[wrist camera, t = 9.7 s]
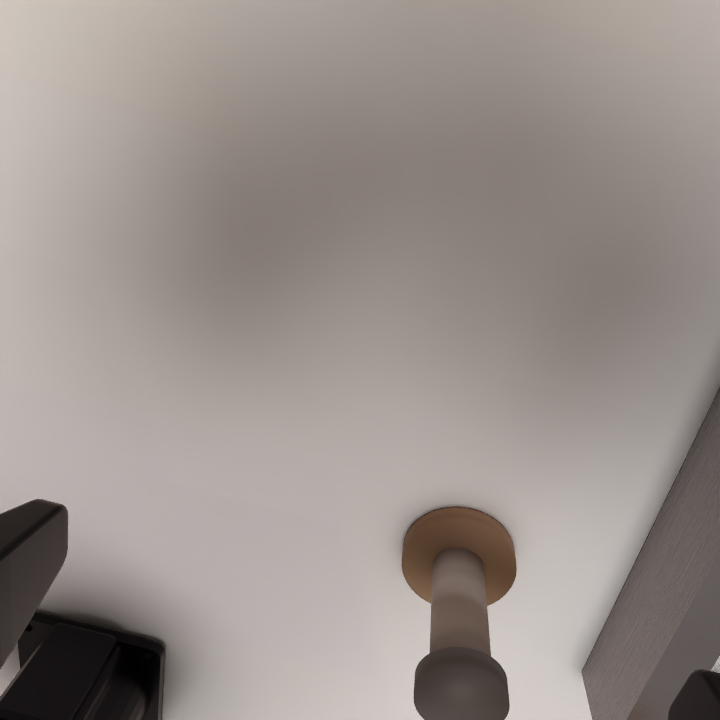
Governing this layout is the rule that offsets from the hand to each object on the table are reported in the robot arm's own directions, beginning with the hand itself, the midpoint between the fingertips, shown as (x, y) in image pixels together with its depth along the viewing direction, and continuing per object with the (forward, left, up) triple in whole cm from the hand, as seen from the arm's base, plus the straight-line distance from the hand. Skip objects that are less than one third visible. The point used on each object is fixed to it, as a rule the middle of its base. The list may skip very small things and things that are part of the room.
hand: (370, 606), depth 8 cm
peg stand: (-8, -3, -11) cm, 14 cm away
